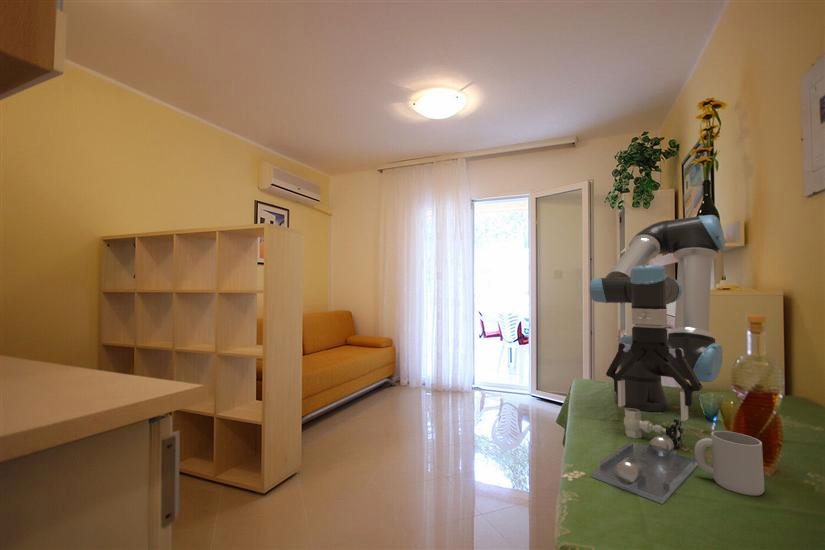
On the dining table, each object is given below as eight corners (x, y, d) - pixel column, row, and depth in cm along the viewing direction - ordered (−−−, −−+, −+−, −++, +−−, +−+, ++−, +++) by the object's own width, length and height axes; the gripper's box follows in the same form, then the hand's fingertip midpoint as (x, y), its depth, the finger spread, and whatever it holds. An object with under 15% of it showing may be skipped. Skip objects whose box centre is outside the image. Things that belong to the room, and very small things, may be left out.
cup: (769, 501, 63) (766, 449, 64) (696, 484, 69) (694, 436, 69) (759, 483, 69) (757, 436, 70) (693, 469, 75) (692, 425, 75)
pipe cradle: (635, 446, 86) (634, 427, 86) (697, 465, 76) (696, 442, 77) (591, 477, 71) (590, 453, 71) (662, 504, 62) (661, 476, 62)
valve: (619, 436, 92) (676, 452, 83) (619, 410, 93) (675, 423, 84) (629, 430, 96) (683, 444, 87) (628, 405, 97) (682, 417, 88)
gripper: (592, 323, 98) (593, 403, 97) (707, 330, 79) (711, 429, 77) (603, 323, 103) (605, 398, 101) (715, 329, 84) (719, 422, 82)
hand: (651, 412), depth 89 cm, fingers open, 13 cm apart
